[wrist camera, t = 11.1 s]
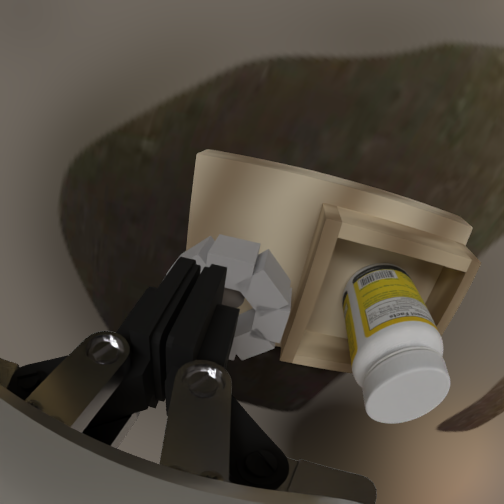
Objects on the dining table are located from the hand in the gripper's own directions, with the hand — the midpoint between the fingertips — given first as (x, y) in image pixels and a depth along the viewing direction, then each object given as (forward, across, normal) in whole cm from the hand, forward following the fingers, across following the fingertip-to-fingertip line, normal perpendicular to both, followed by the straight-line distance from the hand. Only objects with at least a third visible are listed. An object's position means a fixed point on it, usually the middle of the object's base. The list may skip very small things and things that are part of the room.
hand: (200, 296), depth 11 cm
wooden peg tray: (+9, -6, +3) cm, 11 cm away
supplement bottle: (+7, -10, +2) cm, 12 cm away
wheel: (+5, -1, +3) cm, 5 cm away
